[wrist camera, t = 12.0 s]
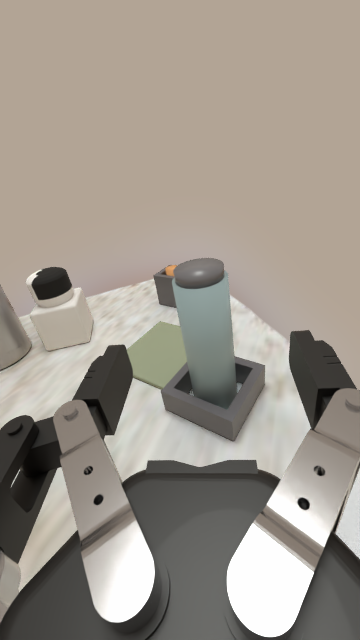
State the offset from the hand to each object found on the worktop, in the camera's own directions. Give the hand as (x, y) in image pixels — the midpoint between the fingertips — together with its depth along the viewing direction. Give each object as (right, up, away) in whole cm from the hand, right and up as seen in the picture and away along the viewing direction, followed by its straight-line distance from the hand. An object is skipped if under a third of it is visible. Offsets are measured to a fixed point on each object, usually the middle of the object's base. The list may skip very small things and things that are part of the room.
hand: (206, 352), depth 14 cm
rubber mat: (-3, -3, +27) cm, 27 cm away
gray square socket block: (-2, +5, +40) cm, 41 cm away
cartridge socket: (+3, -7, +19) cm, 20 cm away
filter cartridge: (+3, -7, +19) cm, 20 cm away
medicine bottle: (-20, -1, +35) cm, 41 cm away
